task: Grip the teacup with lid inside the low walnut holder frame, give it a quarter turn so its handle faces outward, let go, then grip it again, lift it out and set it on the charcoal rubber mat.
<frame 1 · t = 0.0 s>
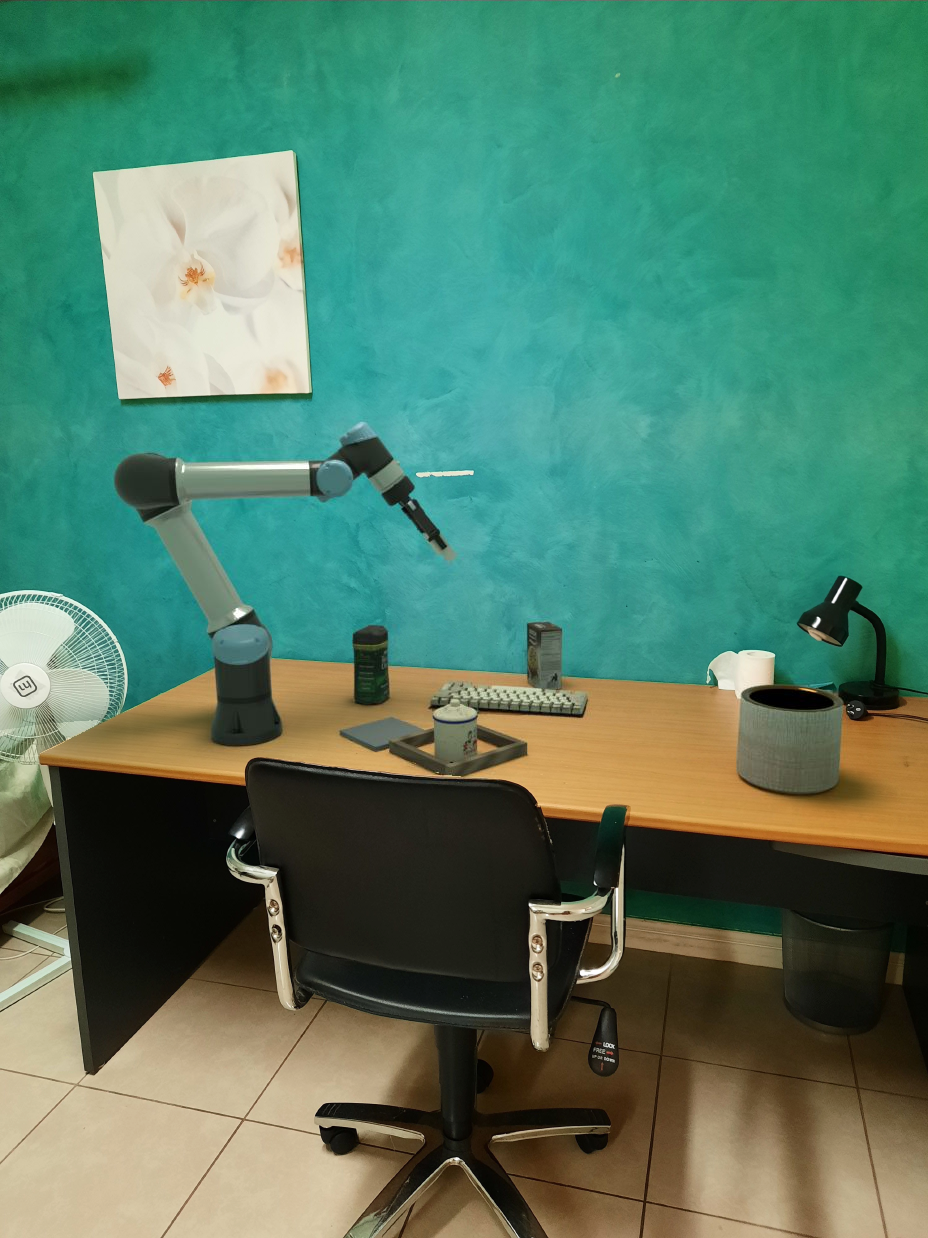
hand: (447, 555, 199), 36 cm above the table, tool tilted 35°, fingers open, 13 cm apart
coffee jar: (372, 700, 209), on the table
mechanical keyboard: (509, 706, 205), on the table
teacup with lid: (457, 754, 171), resting in holder frame
holder frame: (457, 753, 171), on the table
planter: (785, 779, 156), on the table
mat: (384, 735, 183), on the table
coffee box: (543, 686, 219), on the table
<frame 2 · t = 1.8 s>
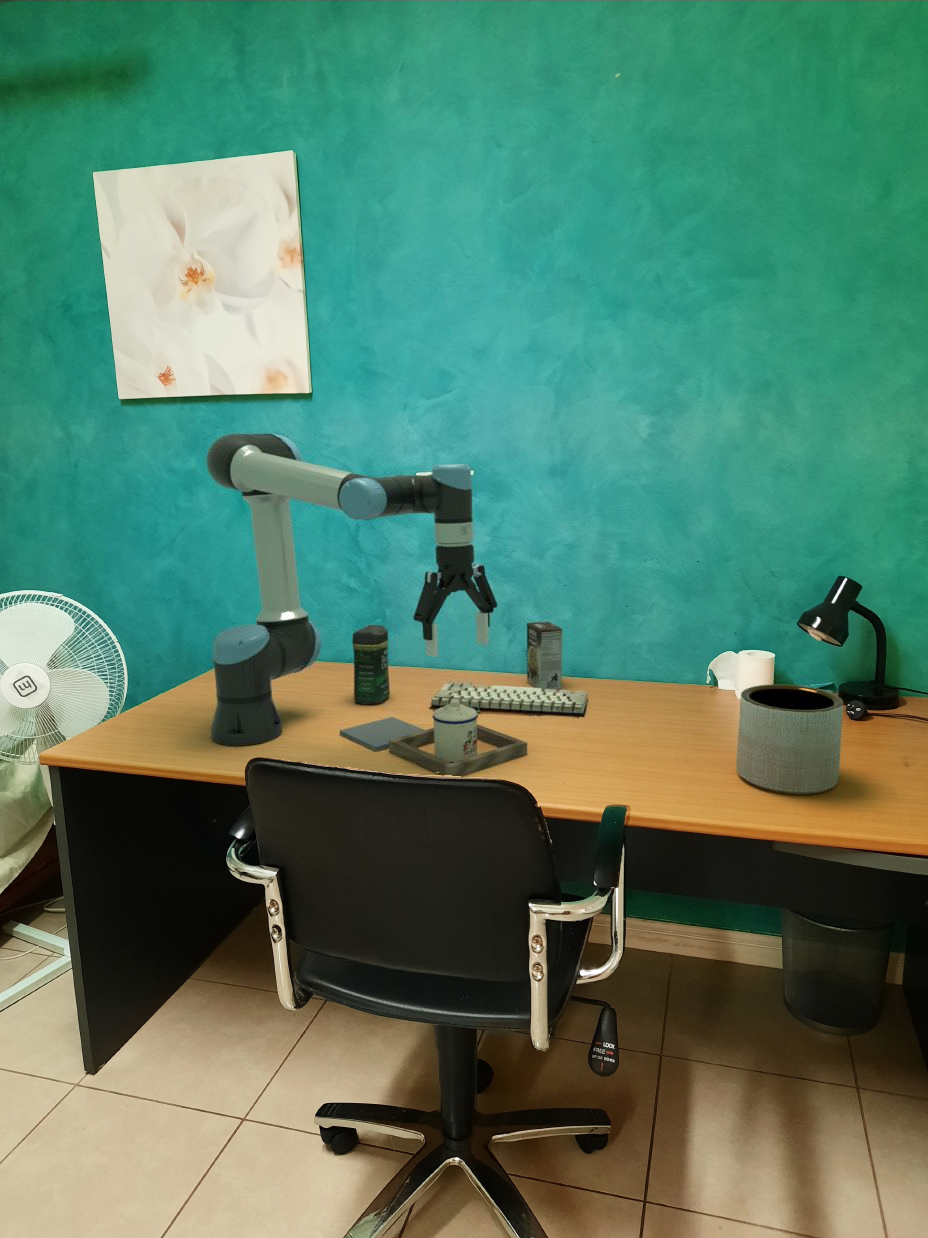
hand: (458, 649, 169), 21 cm above the table, tool pointing down, fingers open, 13 cm apart
nothing on the table moved.
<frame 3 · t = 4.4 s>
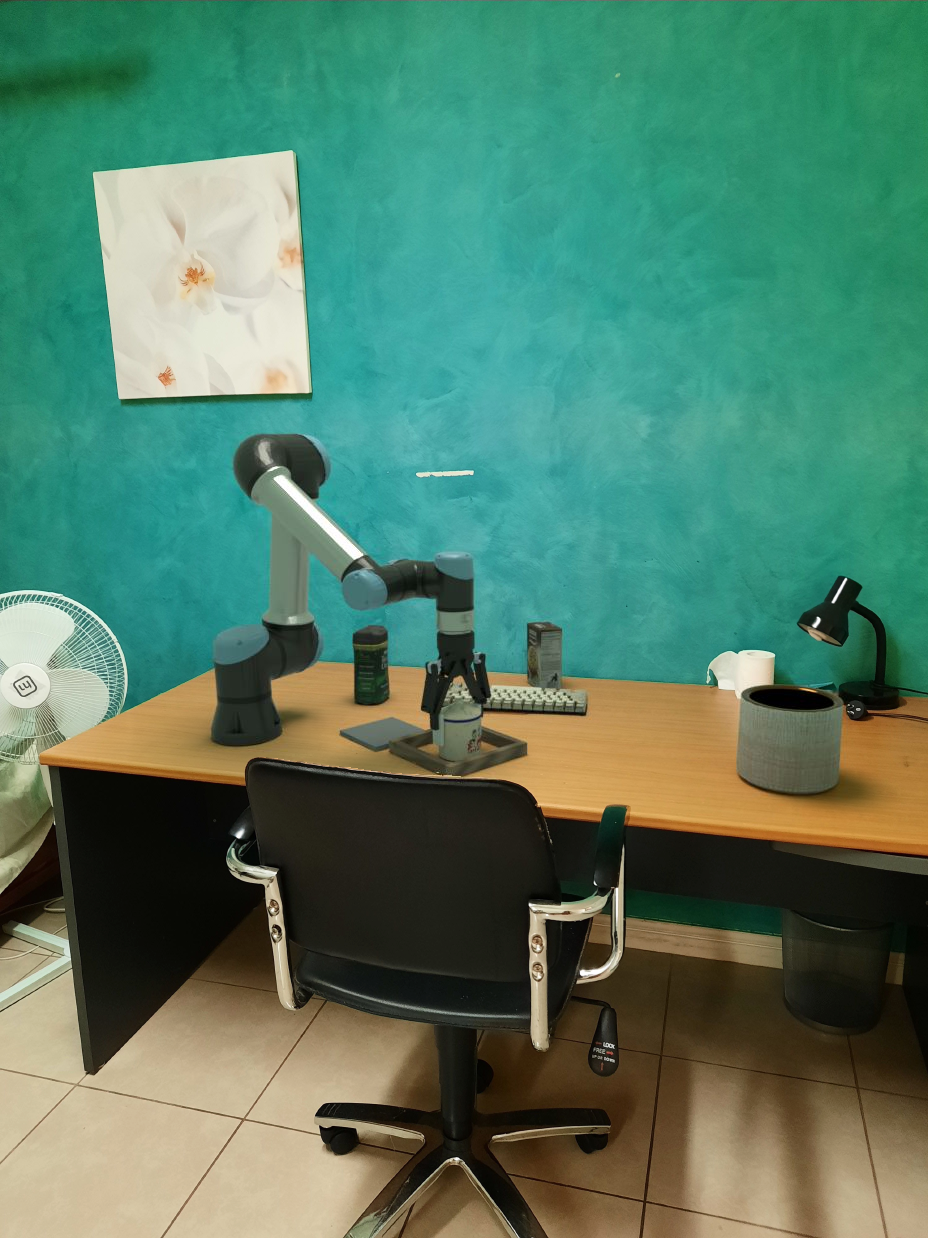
hand: (457, 739, 170), 3 cm above the table, tool pointing down, fingers closed on teacup with lid, 9 cm apart
teacup with lid: (461, 753, 172), resting in holder frame, touching gripper
everything else where it was.
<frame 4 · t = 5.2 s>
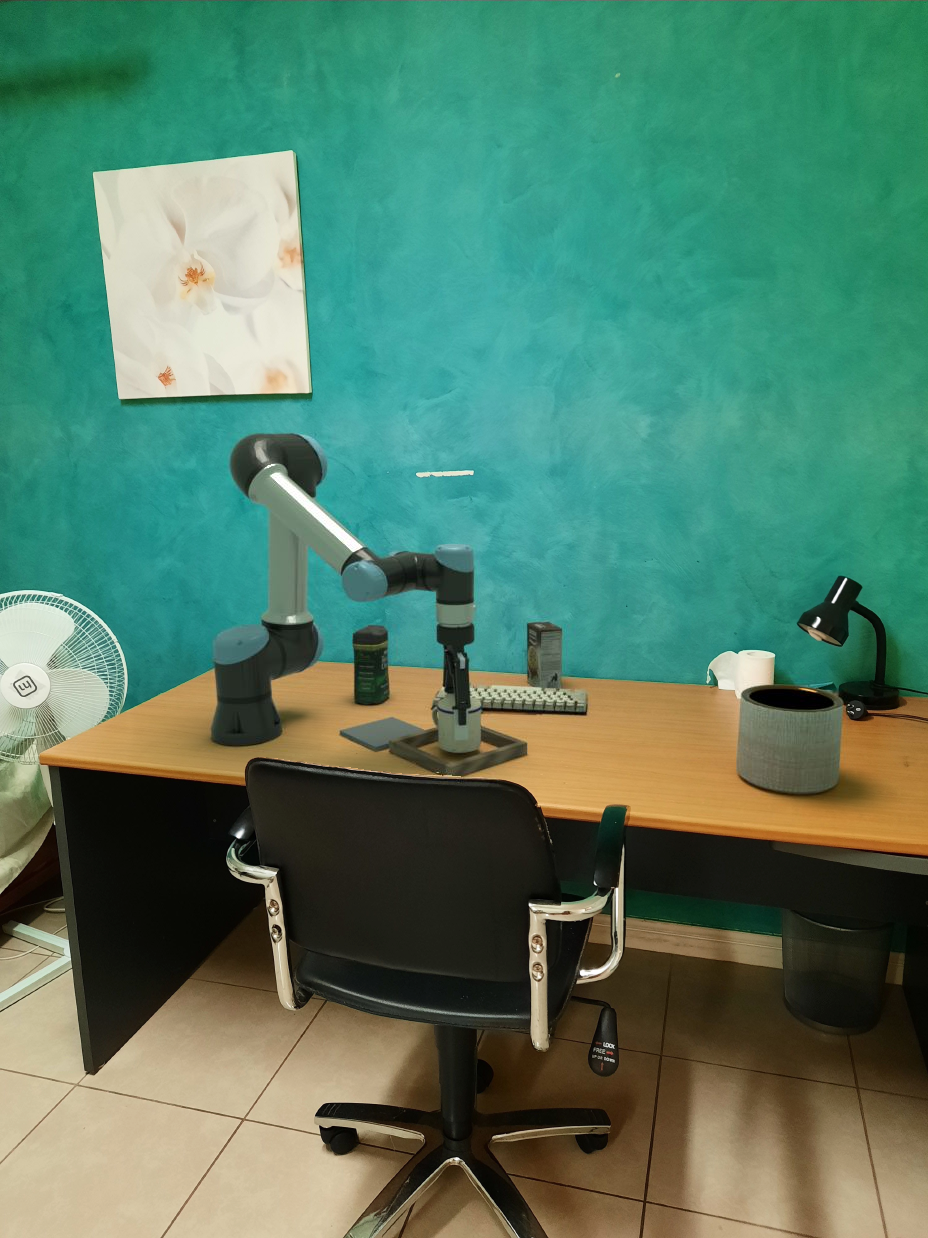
hand: (456, 731, 171), 5 cm above the table, tool pointing down, fingers closed on teacup with lid, 9 cm apart
teacup with lid: (454, 745, 172), point 1 cm above the table, touching gripper
everything else where it was.
when the fingers open (3 cm above the table, at t = 6.6 s): teacup with lid stays where it is, resting in holder frame.
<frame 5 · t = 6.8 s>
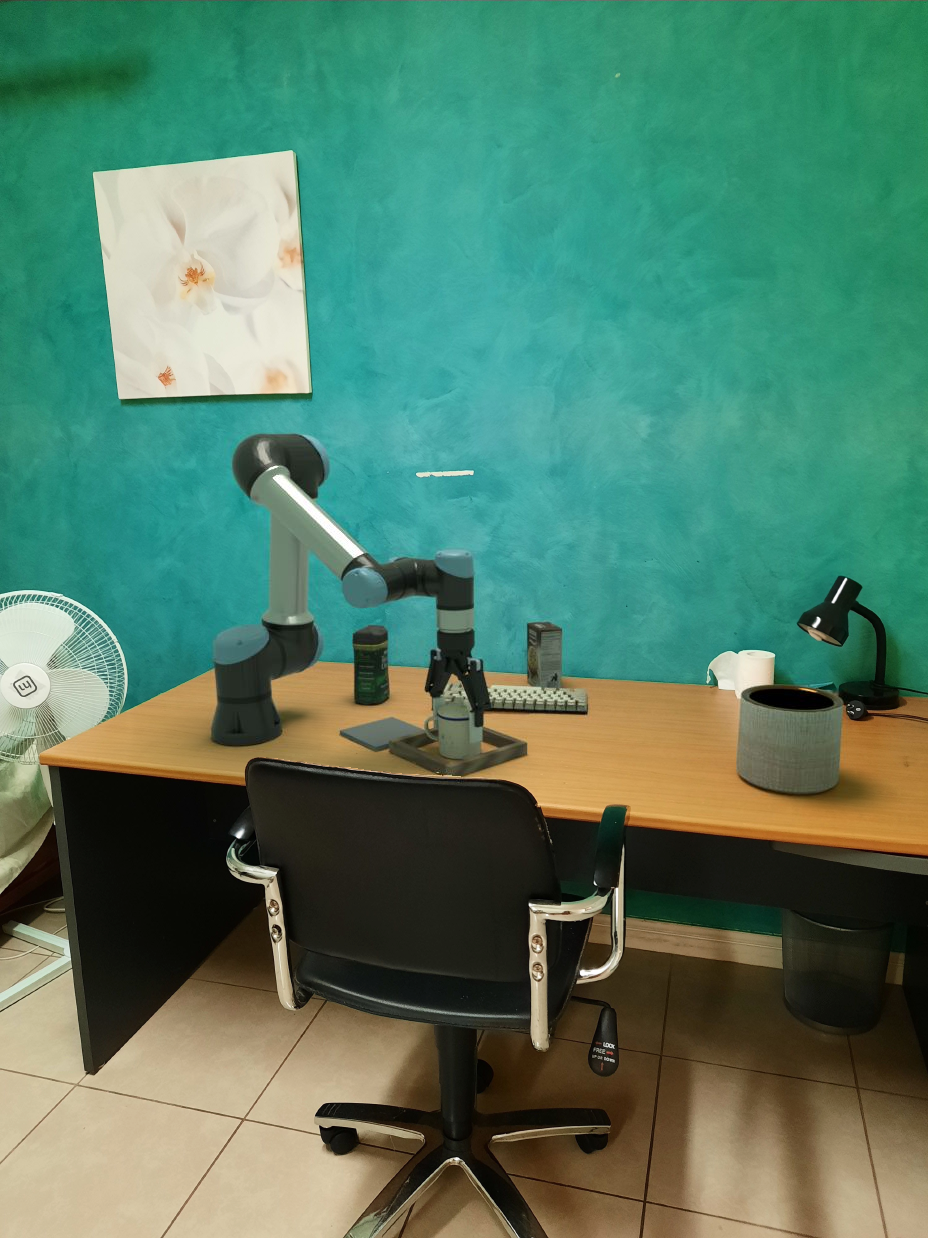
hand: (457, 734, 171), 4 cm above the table, tool pointing down, fingers open, 11 cm apart
teacup with lid: (453, 752, 172), resting in holder frame
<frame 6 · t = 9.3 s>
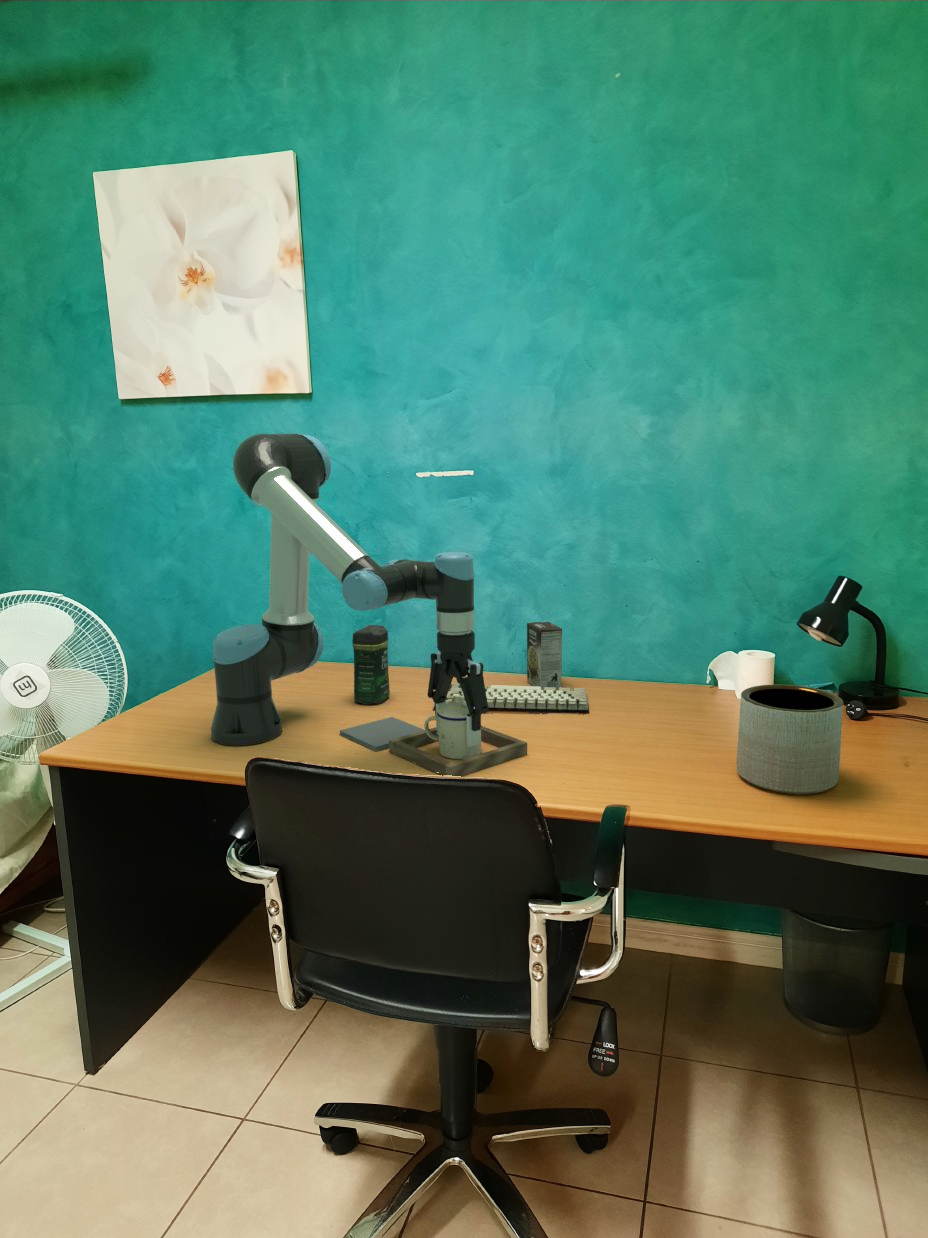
hand: (457, 739, 171), 3 cm above the table, tool pointing down, fingers closed on teacup with lid, 9 cm apart
teacup with lid: (453, 752, 172), resting in holder frame, touching gripper
when the fingers open (5 cm above the table, at t = 15.3 s): teacup with lid drops 1 cm, resting on mat.
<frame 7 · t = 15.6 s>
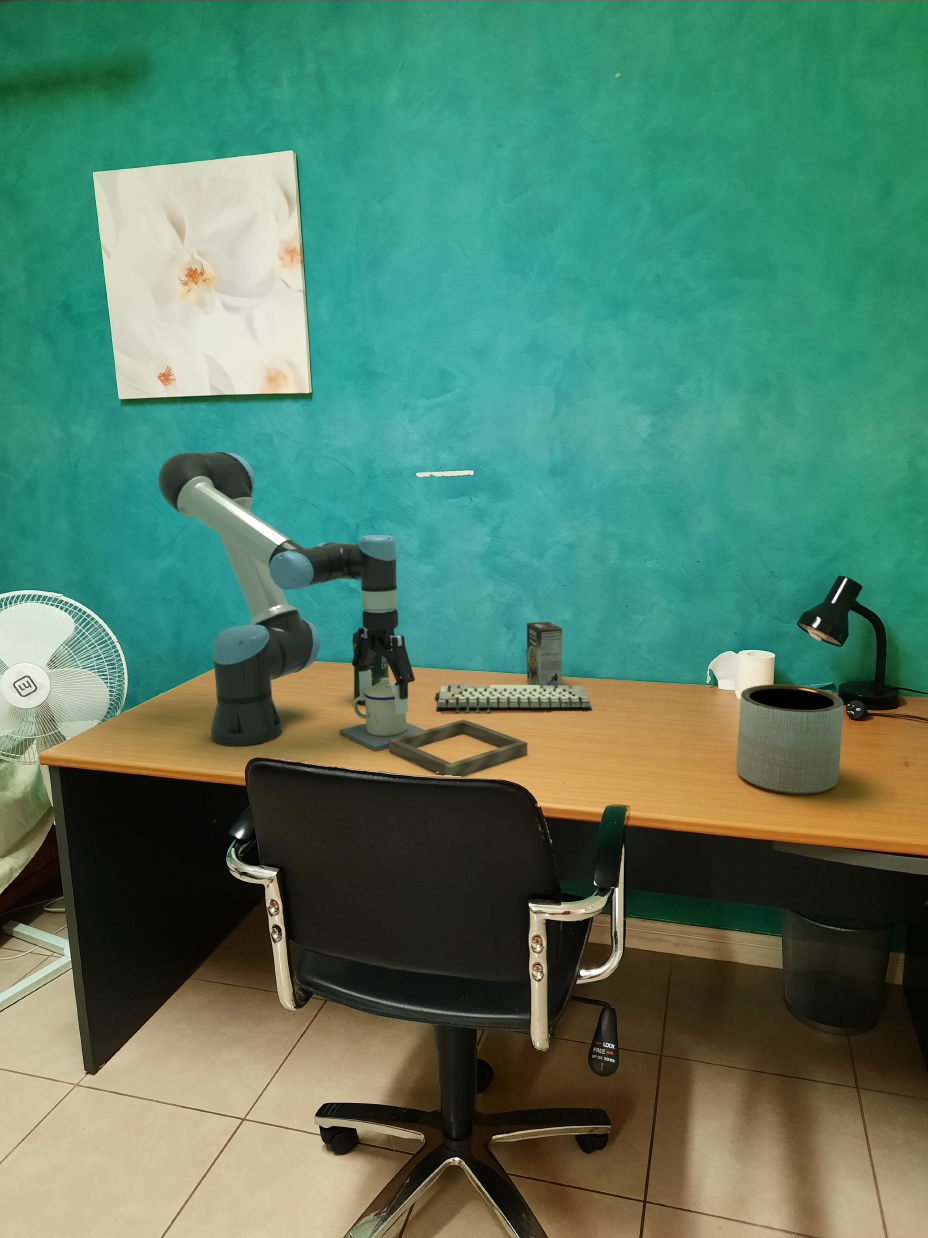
hand: (383, 706, 181), 7 cm above the table, tool pointing down, fingers open, 13 cm apart
teacup with lid: (380, 730, 183), point 1 cm above the table, touching mat
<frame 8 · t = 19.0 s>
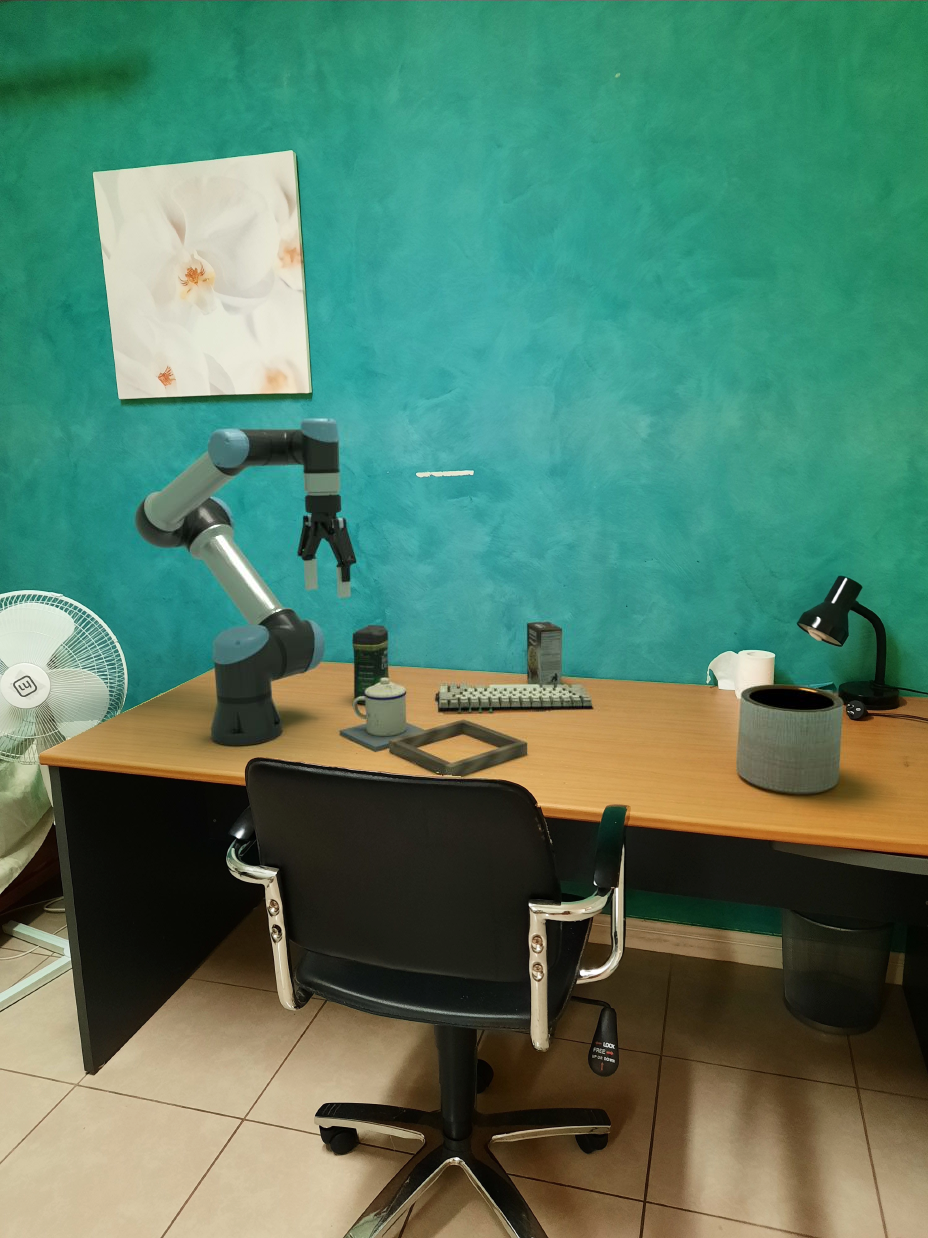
hand: (327, 593, 181), 31 cm above the table, tool pointing down, fingers open, 13 cm apart
at the end: teacup with lid inside the target area on the mat (1.3 cm from its centre), point 0.8 cm above the mat's base; teacup with lid tilted 0°; the gripper is holding nothing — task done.
